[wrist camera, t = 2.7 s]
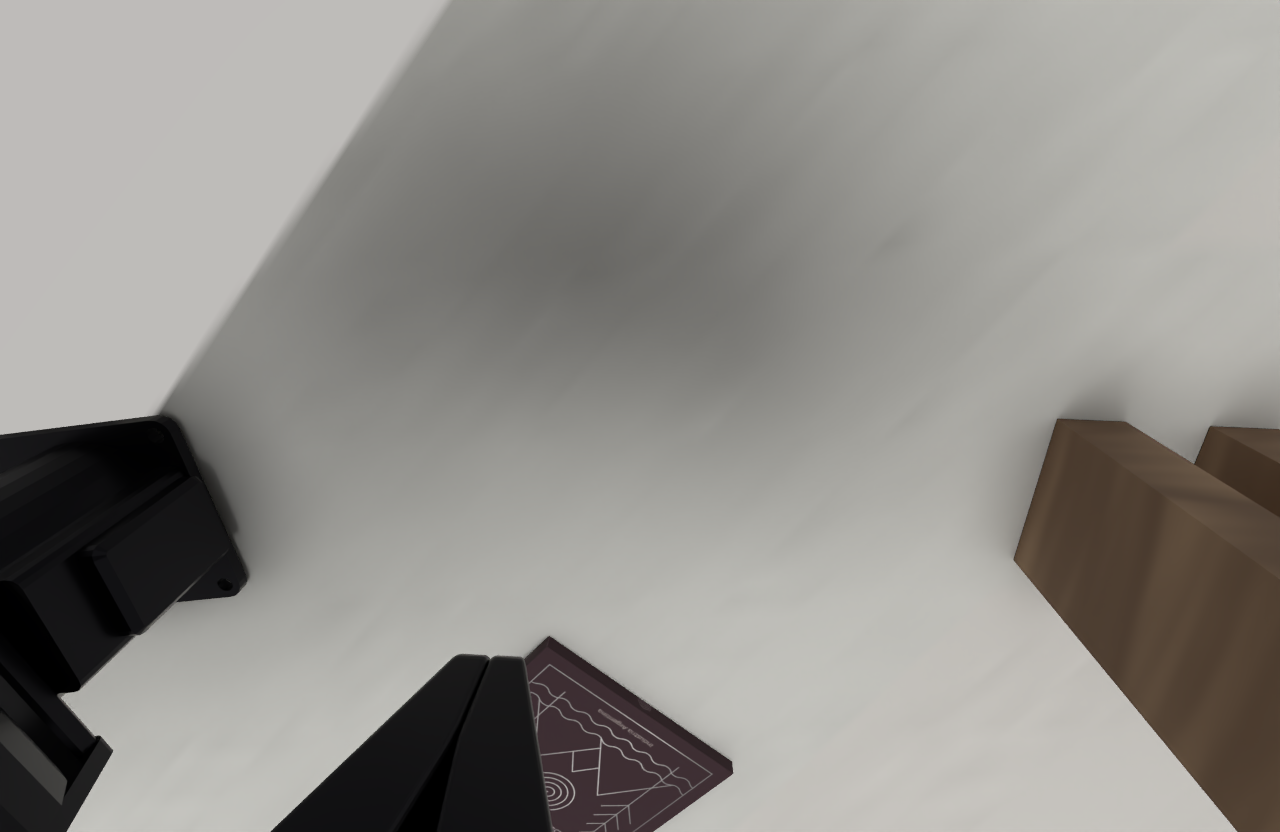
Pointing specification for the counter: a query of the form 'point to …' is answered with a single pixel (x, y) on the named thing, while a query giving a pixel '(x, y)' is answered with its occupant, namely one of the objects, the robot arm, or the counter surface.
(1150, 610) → the domino
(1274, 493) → the domino
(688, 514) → the counter surface
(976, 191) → the counter surface
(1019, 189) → the counter surface
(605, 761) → the chocolate bar
